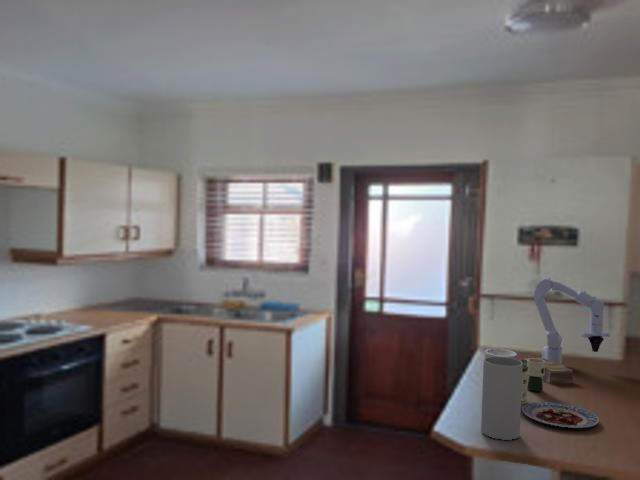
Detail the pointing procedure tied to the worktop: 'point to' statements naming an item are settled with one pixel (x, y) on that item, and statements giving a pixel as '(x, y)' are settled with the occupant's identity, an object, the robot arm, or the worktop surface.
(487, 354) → the paper bowls
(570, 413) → the ceramic plate
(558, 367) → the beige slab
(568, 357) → the worktop surface
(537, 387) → the character mug
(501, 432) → the cylinder vase
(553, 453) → the worktop surface
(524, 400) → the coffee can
